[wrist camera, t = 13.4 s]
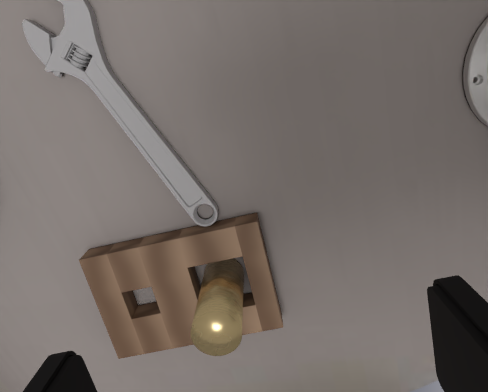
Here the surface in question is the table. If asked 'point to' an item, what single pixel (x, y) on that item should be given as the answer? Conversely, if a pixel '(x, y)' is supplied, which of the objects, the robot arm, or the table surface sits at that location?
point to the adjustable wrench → (114, 98)
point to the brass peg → (219, 309)
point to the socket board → (176, 283)
